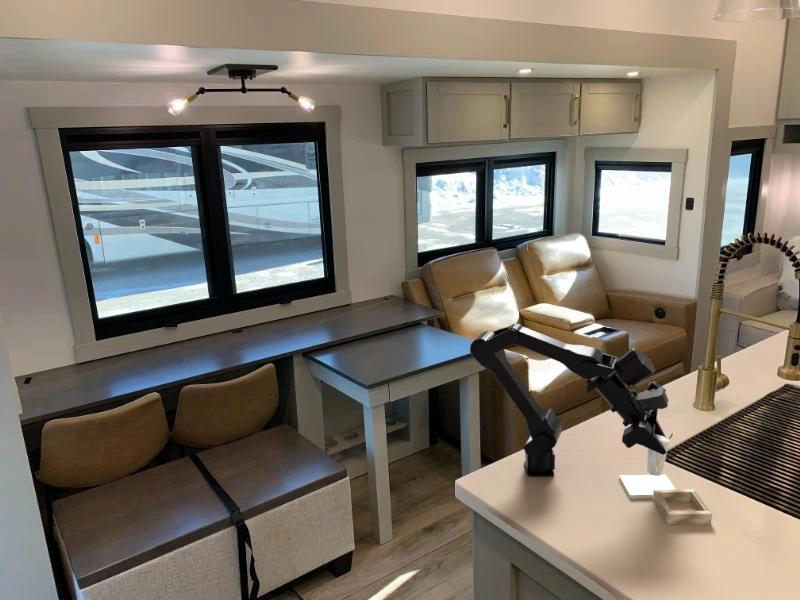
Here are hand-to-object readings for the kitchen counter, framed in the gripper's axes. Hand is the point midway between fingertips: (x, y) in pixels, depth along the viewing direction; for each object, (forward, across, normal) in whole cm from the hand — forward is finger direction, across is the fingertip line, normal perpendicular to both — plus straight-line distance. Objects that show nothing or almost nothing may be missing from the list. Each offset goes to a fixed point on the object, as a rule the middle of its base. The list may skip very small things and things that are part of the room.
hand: (665, 448), depth 137 cm
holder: (+12, -5, +5) cm, 14 cm away
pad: (+7, +2, +10) cm, 13 cm away
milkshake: (+4, 0, +6) cm, 7 cm away
